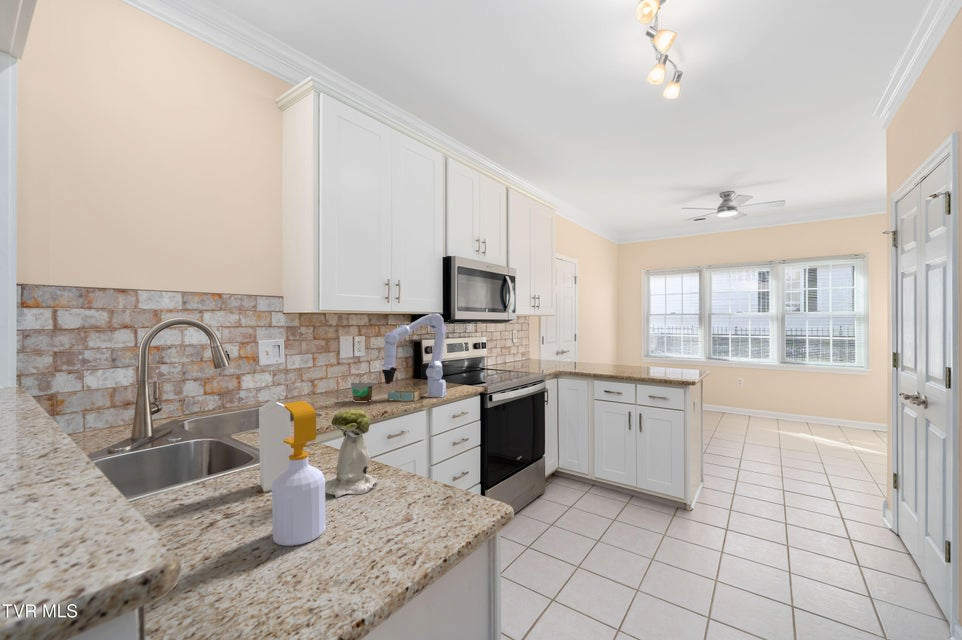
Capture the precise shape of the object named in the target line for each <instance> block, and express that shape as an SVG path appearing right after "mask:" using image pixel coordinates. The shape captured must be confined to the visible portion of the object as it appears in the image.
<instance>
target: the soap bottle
mask: <svg viewBox="0 0 962 640" xmlns="http://www.w3.org/2000/svg"><path fill="white" fill-rule="evenodd" d="M283 405H284V407H285V408H286V409H287V410H288V411H289V412H290V415H292V417H293V437H290V438H287V439H284V440H283V441H284V443H287V444H290V445H291V449H293V453H291V455H289V468H288V469H287V470H285V471H284V472H282V473H281V474H280V475H279V476H278V477H277V478H276V479H275V480H274V482H273V485H272V490H271V501H272V503H271V504H272V505H271V506H272V507H271V508H272V510H271V511H272V513H271V514H272V515H271V516H272V517H271V519H272V539H273V542H274V543H276V544H277V545H279V546H284V547H292V546H294V545H295V546H300V545H303V544H307V543H309V542H312V541H314V540H316V539H318V538H320V536H322V535H323V534H324V532H325V531H326V528H327V527H326V526H327V525H326V523H327V522H326V519H327V516H326V512H327V511H326V492H325V480H326V478H325V475H324V473H323V472H322V471H321V470H320V469H318V468H317V467H315V466H312V465H310V464H309V452H306V451H304V448H305V447H306V446H307V443H309V442H312V441H315V440H316V439H317V413H316V410H315V408H314V407H313V406H312V405H311V404H310V403H308V402H307V401H306V400H305V401H304V400H299V401H293V402H286V403H284V404H283Z"/></svg>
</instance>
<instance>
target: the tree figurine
mask: <svg viewBox="0 0 962 640" xmlns="http://www.w3.org/2000/svg"><path fill="white" fill-rule="evenodd" d="M331 425H332V426H333V427H334V428H336V430H339V431H341V433H342V436H343V441H342V442H341V445H340V448H339V453H338V459H337V465H336V471H337V472H336V474H335V475H333V476H331V478H325V494H330V495H334V496H335V499H337V498H339V497H341V496H344V495H345V494H352V495H364V494H365V493H368V492H369V491H370V489H372V488H373V486H374V488H376V485H375V484H378V483H379V478H377V477H378V476H377V474H371V475H370V474H368V473H367V469H368V466H369V465H370V463H371V461H372V460H371V458H370V453H369V452H370V451H371V450H370V449H371V448H368V446H367V443H366V441H365V438H364V434H367V433H368V432H369V430H370V429H369V427H371V419H370V418H369V416H368V415H367V413H366V412H364V411H363V410H359V409H352V408H351V409H345V410H342V411H340V412H337V413H335V414H334V415H333V418H332V419H331ZM363 493H364V494H363Z"/></svg>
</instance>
